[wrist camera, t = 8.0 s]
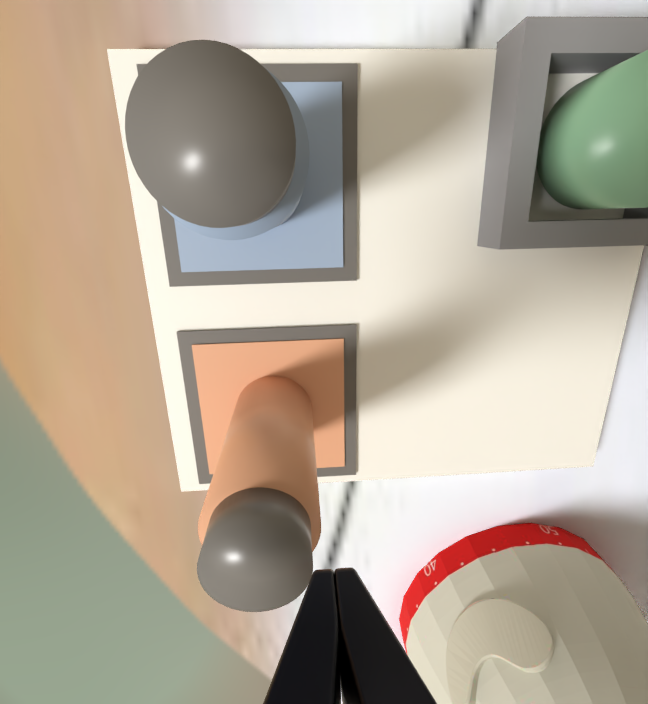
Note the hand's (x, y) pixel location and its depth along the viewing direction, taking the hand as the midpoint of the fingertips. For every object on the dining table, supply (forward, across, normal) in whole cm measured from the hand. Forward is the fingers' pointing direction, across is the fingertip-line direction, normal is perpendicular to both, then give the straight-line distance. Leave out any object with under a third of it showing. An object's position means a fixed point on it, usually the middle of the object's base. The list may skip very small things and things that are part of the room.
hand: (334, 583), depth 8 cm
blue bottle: (+11, +2, -9) cm, 14 cm away
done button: (+10, -11, -10) cm, 18 cm away
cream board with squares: (+12, -4, -4) cm, 13 cm away
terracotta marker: (+11, +2, +2) cm, 11 cm away
